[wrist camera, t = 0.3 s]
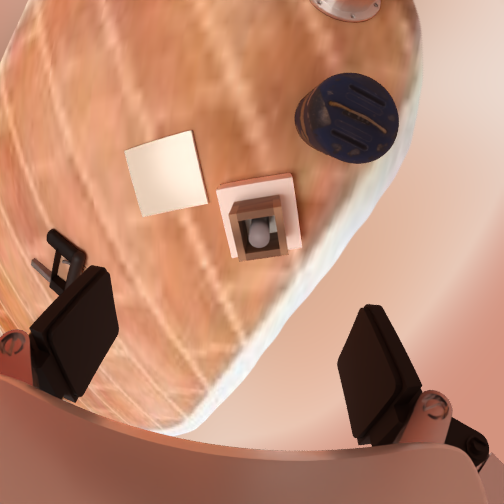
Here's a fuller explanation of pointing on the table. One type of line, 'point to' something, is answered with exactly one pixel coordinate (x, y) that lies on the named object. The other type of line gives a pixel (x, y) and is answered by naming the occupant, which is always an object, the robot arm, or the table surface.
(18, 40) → the table surface
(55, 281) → the door handle
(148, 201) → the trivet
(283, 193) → the post stand
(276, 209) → the hollow wooden box
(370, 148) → the canister
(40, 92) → the table surface
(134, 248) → the table surface
